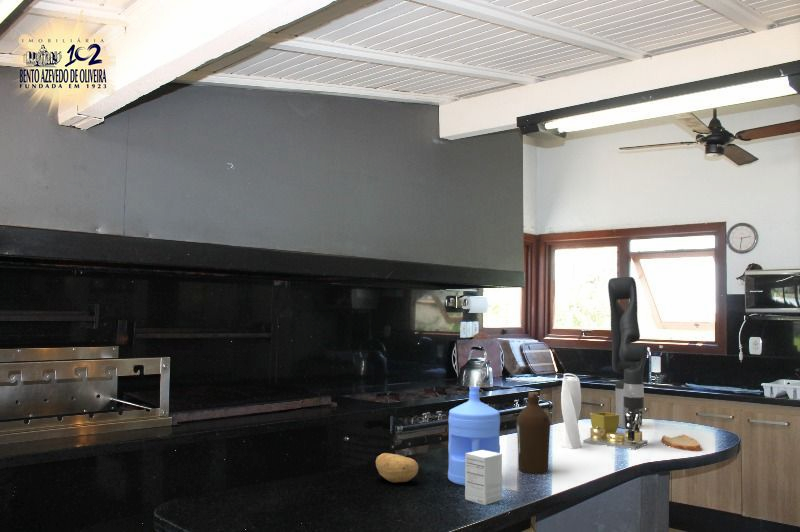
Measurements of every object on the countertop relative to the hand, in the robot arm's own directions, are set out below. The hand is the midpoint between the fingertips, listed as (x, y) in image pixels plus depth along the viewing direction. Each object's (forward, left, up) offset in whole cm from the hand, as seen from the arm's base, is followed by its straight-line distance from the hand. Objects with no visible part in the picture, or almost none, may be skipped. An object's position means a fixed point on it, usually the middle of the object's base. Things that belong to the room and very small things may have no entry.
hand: (633, 439), depth 271 cm
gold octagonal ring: (0, 0, 0) cm, 0 cm away
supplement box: (+105, -7, -3) cm, 105 cm away
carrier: (0, -7, -2) cm, 8 cm away
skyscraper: (+19, -18, -3) cm, 26 cm away
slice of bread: (-13, +15, -3) cm, 20 cm away
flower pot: (-14, -17, -3) cm, 22 cm away
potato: (+104, -37, -3) cm, 110 cm away
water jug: (+88, -20, -3) cm, 90 cm away
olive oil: (+64, -12, -3) cm, 65 cm away
